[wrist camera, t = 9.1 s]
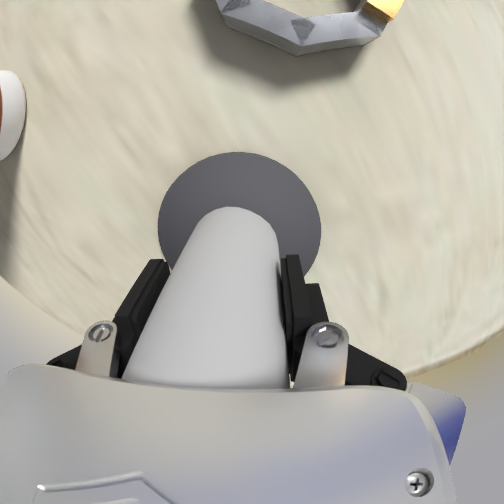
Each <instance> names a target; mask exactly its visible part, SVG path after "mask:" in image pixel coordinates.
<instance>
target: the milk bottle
mask: <svg viewBox="0 0 504 504" xmlns="http://www.w3.org/2000/svg"><path fill="white" fill-rule="evenodd" d="M25 112H26V97H25V90H24V87H23V84H22V82H21V80H20V78H19V77H18V76H17V75H16V74H14V73H13V72H11V71H0V161H1V160H3V159H5V158H6V157H7V156H8V155H9V154H10V153H11V152H12V150H13V149H14V148H15V146H16V144H17V143H18V140H19V138H20V136H21V132H22V129H23V125H24V120H25Z"/></svg>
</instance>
